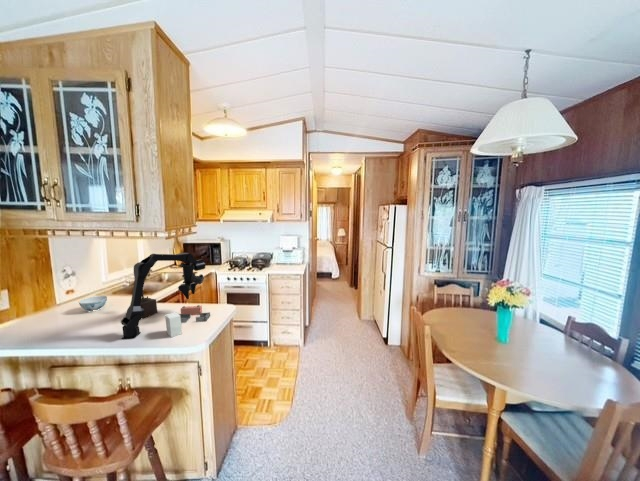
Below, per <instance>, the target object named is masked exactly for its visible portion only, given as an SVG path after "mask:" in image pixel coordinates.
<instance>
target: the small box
mask: <svg viewBox="0 0 640 481" xmlns="http://www.w3.org/2000/svg"><path fill="white" fill-rule="evenodd" d="M164 316H165V325H166V334H167V335H169V337H170V338H174V337H177V336H180V335H182V334H183V330H182V329H183V328H182V327H183V326H182V323H181V317H180V314H178V313H177V312H172V313H168V314H165V315H164Z"/></svg>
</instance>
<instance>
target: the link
mask: <svg viewBox="0 0 640 481" xmlns="http://www.w3.org/2000/svg"><path fill="white" fill-rule="evenodd" d="M200 313H203V306H202V305H199V304H198V305H191V306H185V305H184V306H181V307H180V314H190V315H191V316H200Z"/></svg>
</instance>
